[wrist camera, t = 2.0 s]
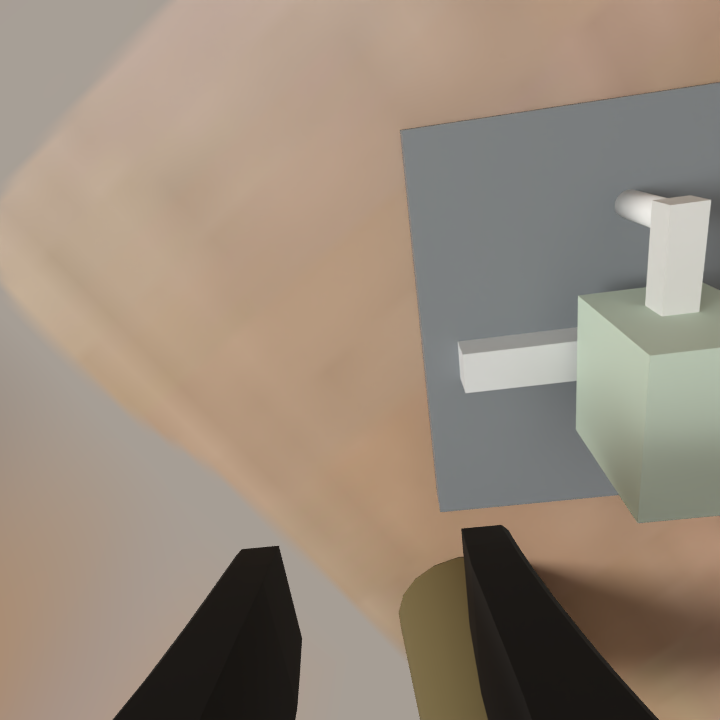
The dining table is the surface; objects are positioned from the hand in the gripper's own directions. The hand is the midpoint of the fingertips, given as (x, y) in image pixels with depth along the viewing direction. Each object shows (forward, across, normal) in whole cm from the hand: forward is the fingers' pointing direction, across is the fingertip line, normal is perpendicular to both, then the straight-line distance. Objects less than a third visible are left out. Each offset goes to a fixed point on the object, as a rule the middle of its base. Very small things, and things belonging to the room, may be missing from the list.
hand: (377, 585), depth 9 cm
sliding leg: (+8, -7, -1) cm, 11 cm away
